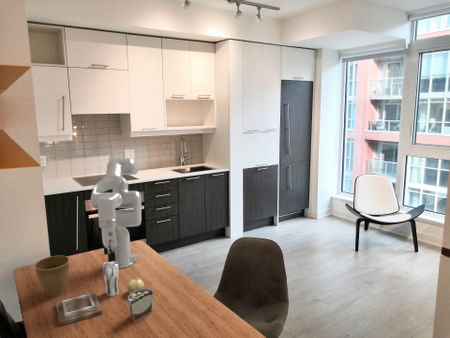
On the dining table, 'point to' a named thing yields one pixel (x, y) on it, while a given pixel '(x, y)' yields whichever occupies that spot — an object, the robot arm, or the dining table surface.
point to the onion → (135, 285)
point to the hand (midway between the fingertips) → (109, 257)
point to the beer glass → (111, 277)
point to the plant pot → (53, 274)
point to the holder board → (78, 308)
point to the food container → (140, 303)
